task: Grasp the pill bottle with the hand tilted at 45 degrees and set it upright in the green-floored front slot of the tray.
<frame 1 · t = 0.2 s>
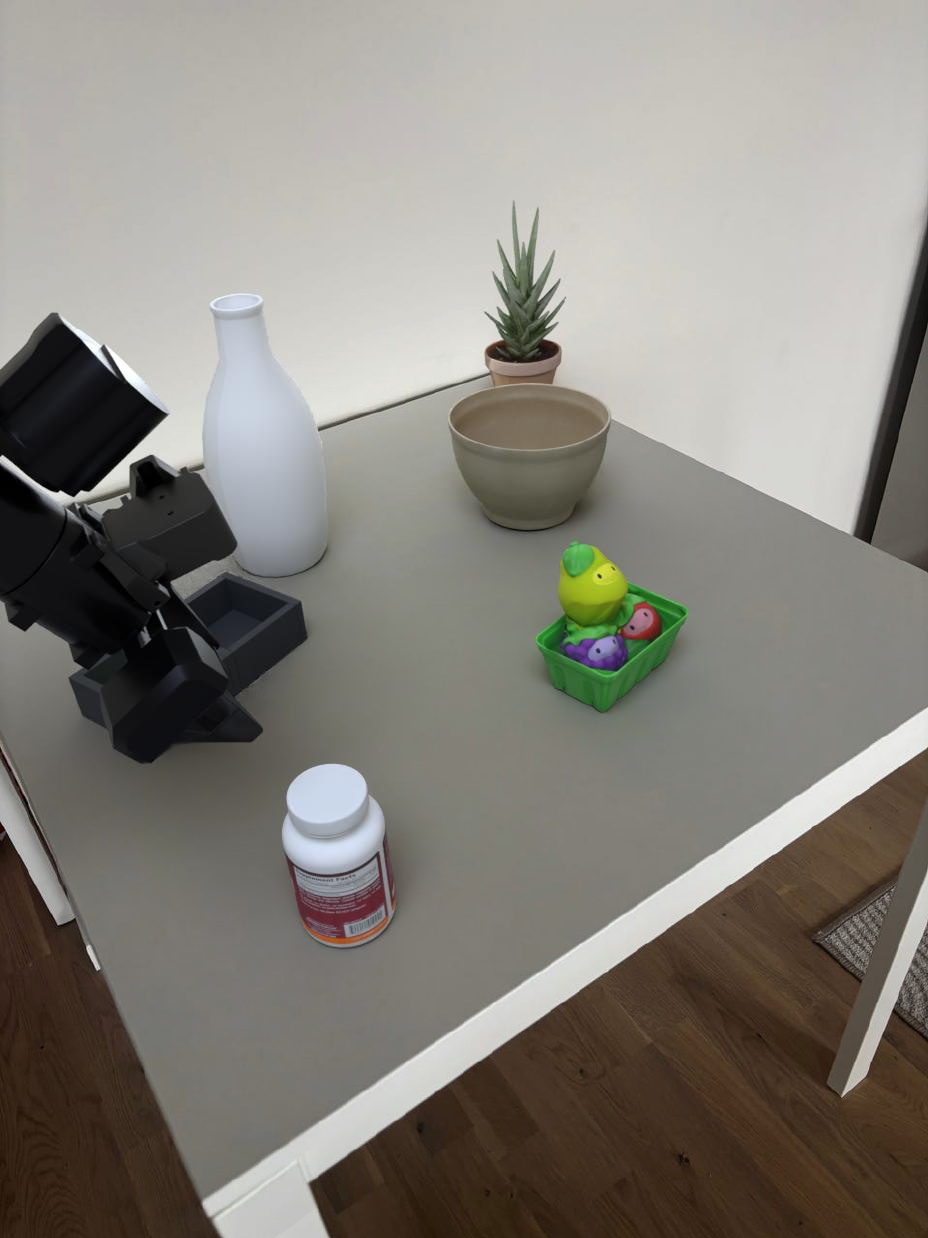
hand: (235, 690, 60), 13 cm above the table, tool tilted 35°, fingers open, 9 cm apart
pill bottle: (349, 912, 62), on the table
potted plant: (521, 406, 124), on the table
planter bowl: (529, 510, 103), on the table
bottle: (282, 555, 98), on the table
fruit basket: (604, 672, 81), on the table
tray: (199, 675, 82), on the table
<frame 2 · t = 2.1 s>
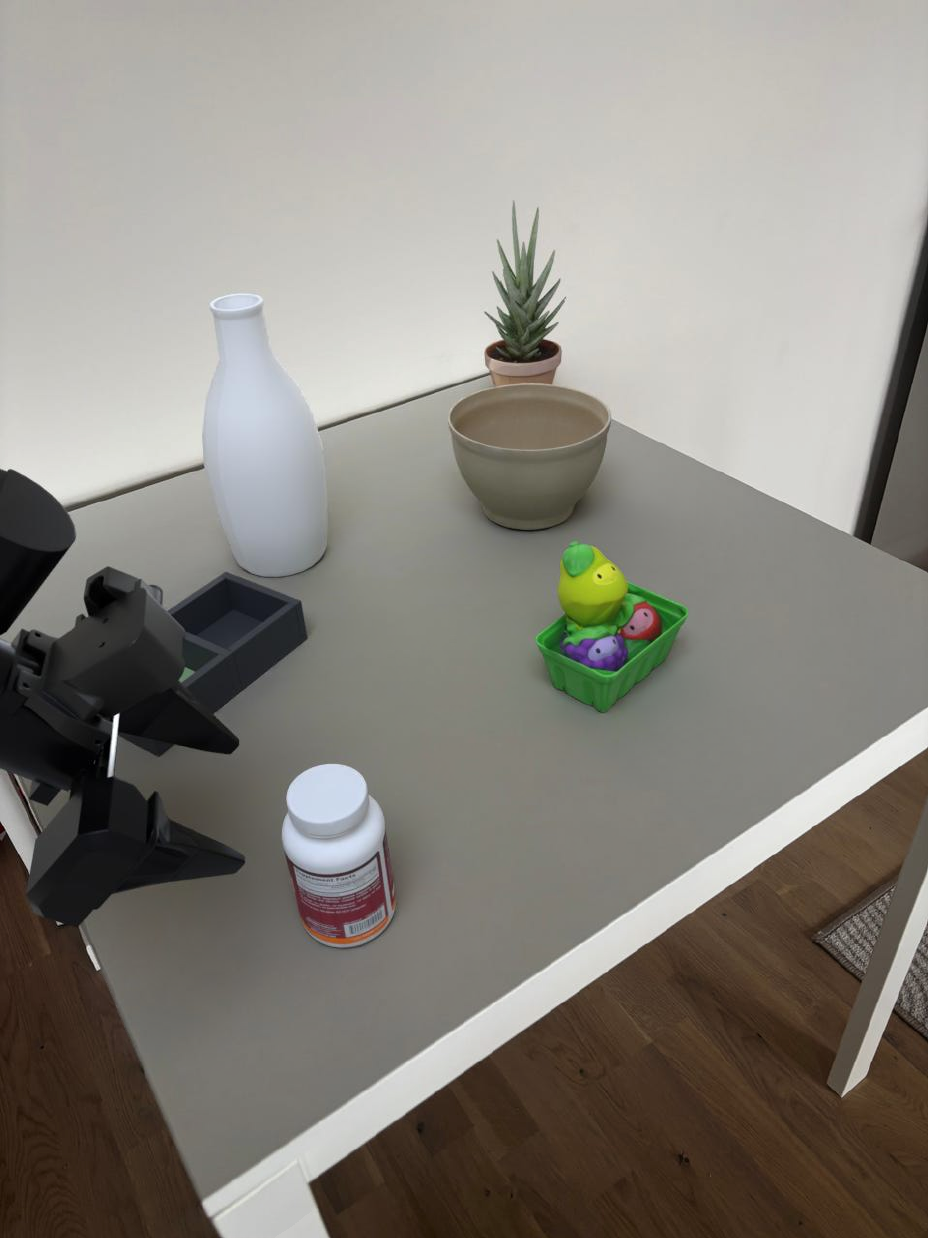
hand: (238, 802, 55), 11 cm above the table, tool tilted 45°, fingers open, 9 cm apart
nothing on the table moved.
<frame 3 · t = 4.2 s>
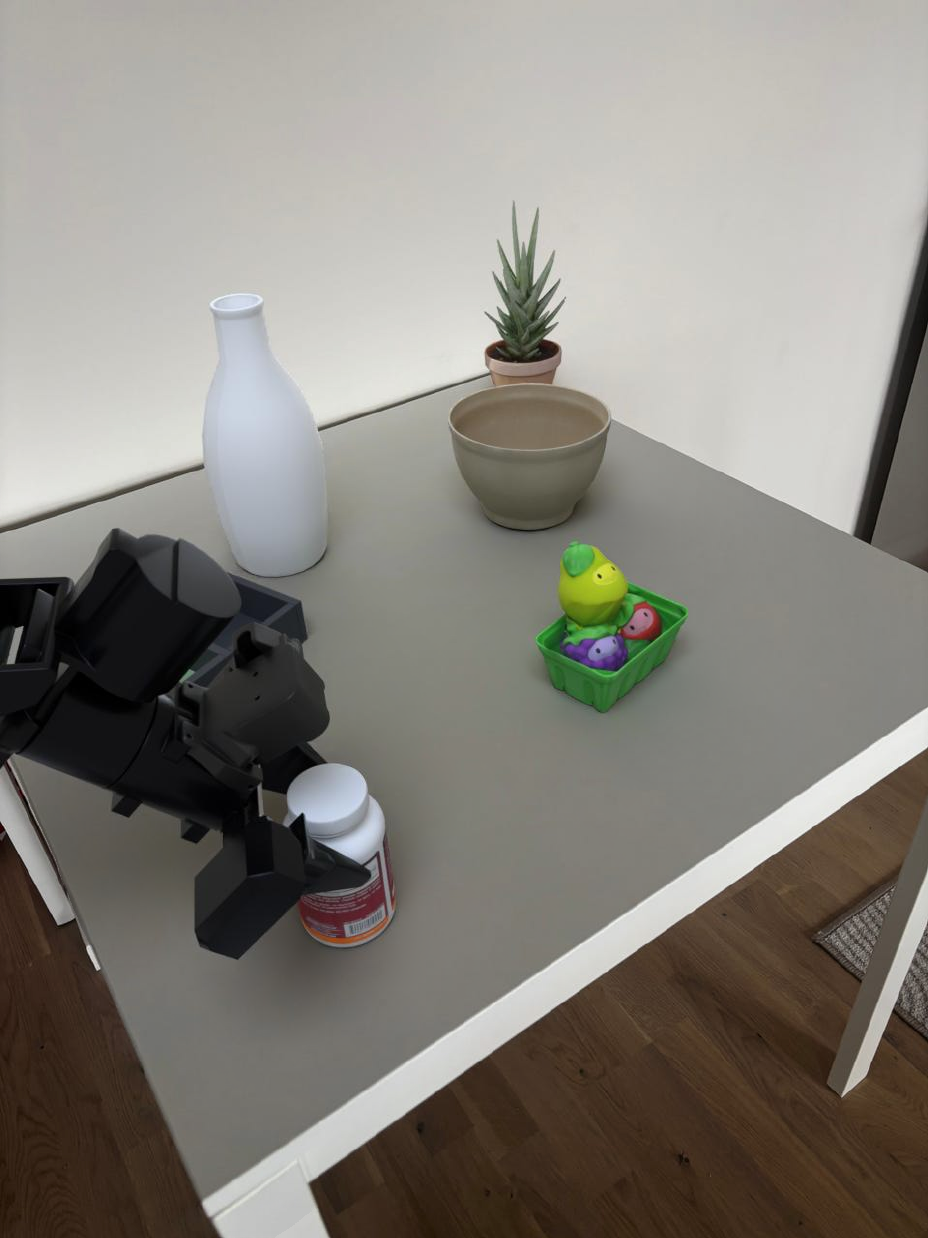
hand: (359, 838, 59), 7 cm above the table, tool tilted 45°, fingers closed on pill bottle, 6 cm apart
pill bottle: (349, 912, 62), on the table, touching gripper
everything else where it was.
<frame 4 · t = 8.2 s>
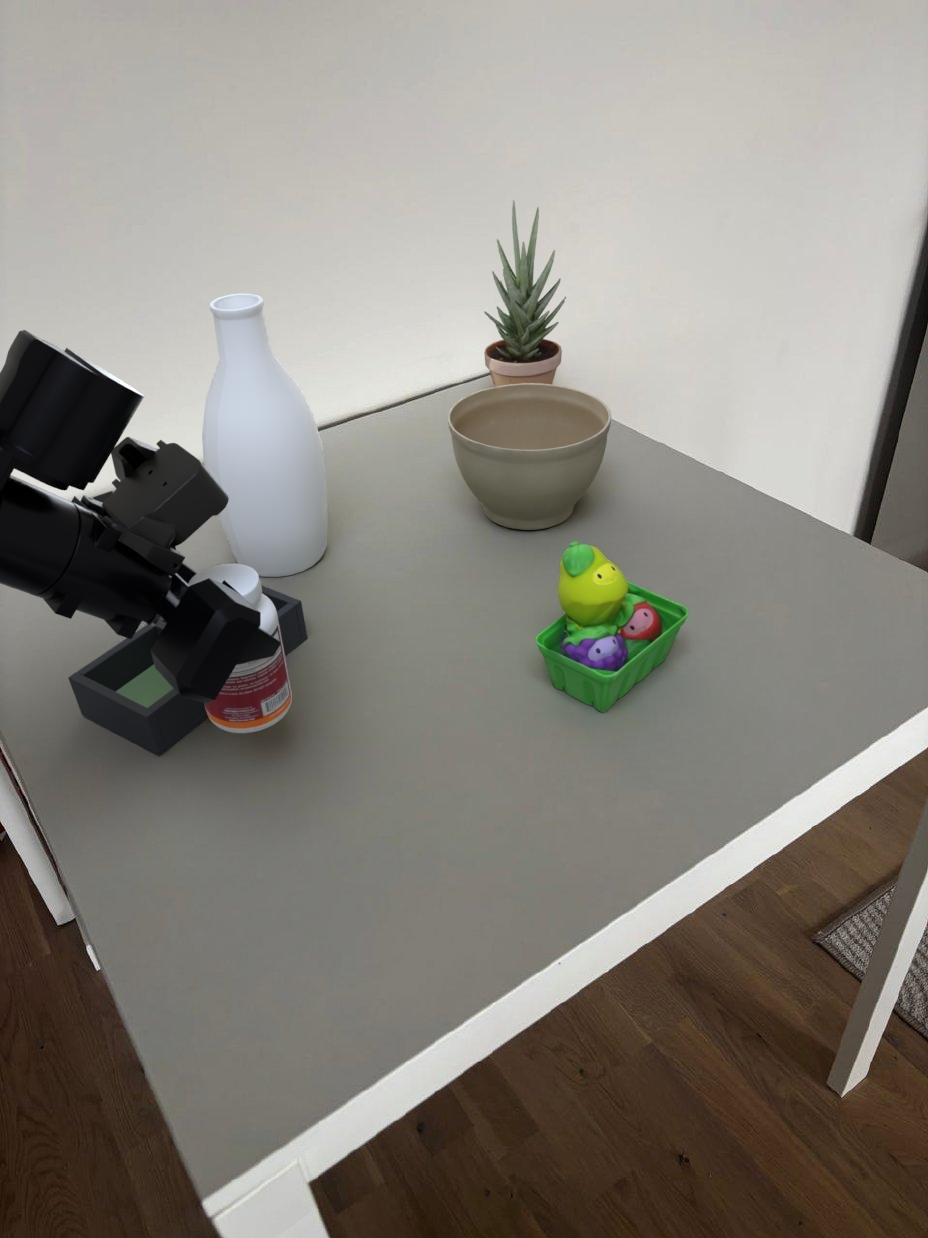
hand: (252, 627, 67), 12 cm above the table, tool tilted 45°, fingers closed on pill bottle, 6 cm apart
pill bottle: (251, 710, 70), point 5 cm above the table, touching gripper
everything else where it was.
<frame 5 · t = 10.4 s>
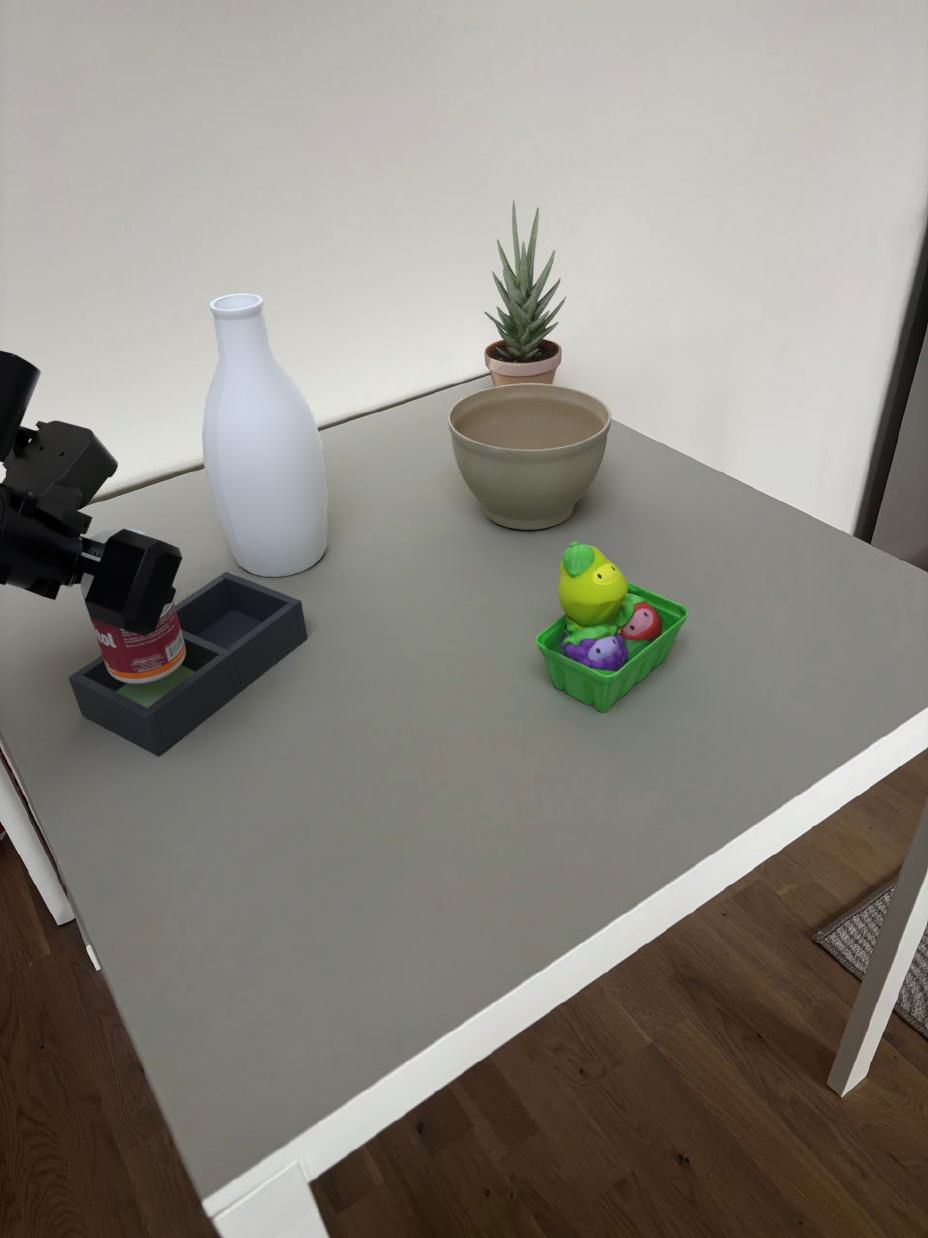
hand: (141, 584, 74), 11 cm above the table, tool tilted 45°, fingers closed on pill bottle, 6 cm apart
pill bottle: (148, 664, 77), point 4 cm above the table, touching gripper
everything else where it was.
when the fingers open (7 cm above the table, at t = 12.0 s): pill bottle stays where it is, resting on tray.
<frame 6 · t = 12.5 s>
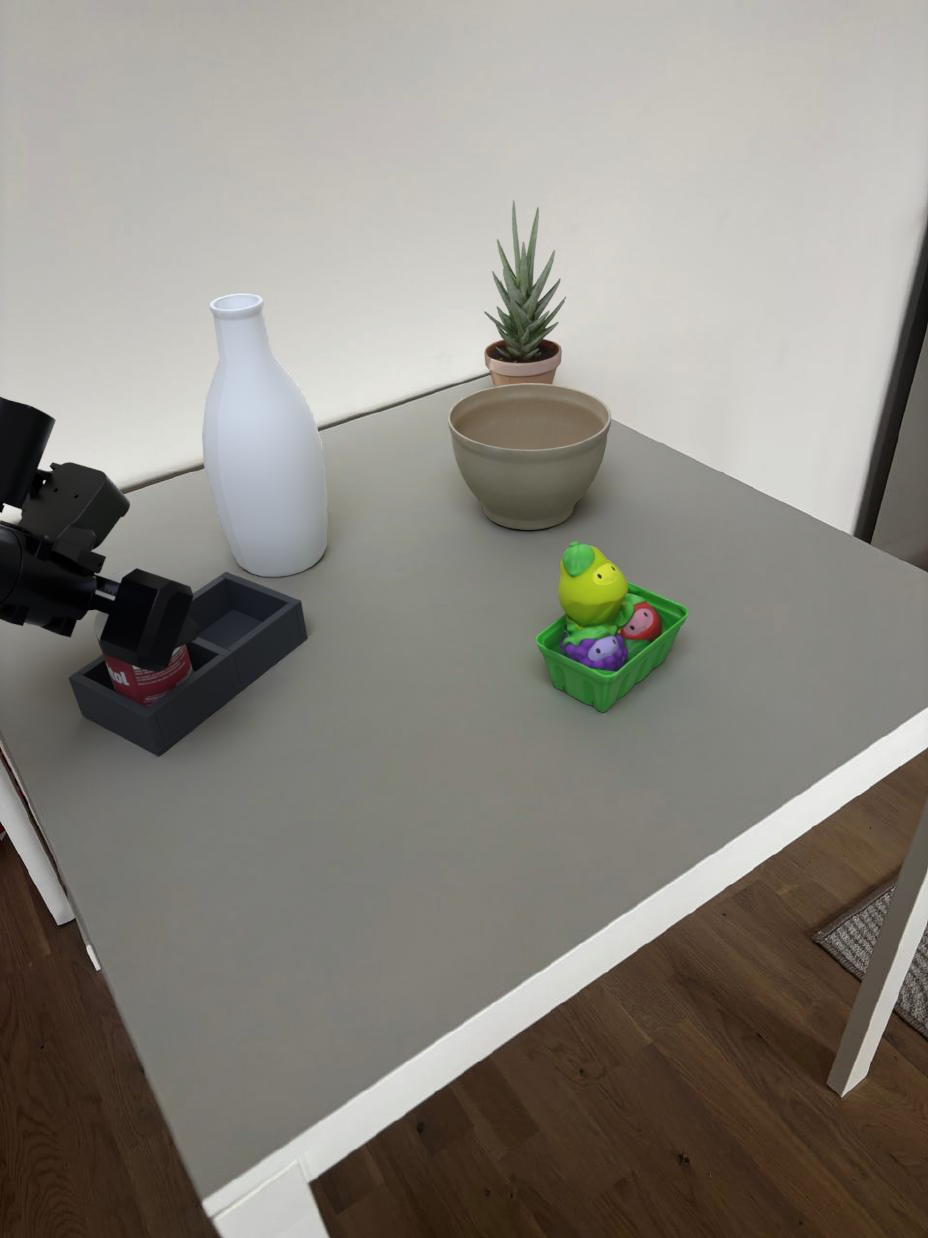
hand: (153, 616, 76), 8 cm above the table, tool tilted 45°, fingers open, 9 cm apart
pill bottle: (159, 698, 79), point 1 cm above the table, touching tray
everything else where it was.
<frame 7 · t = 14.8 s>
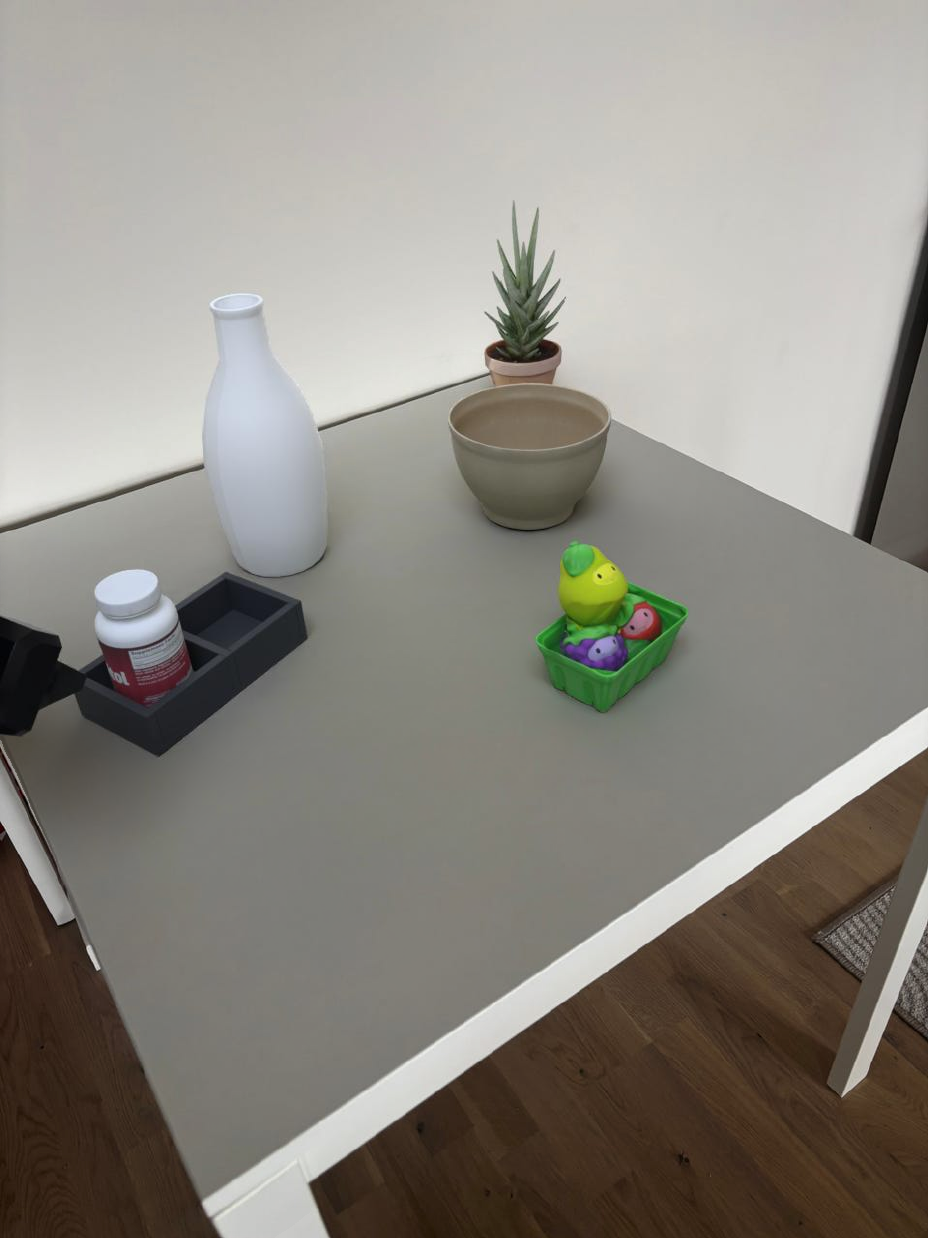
hand: (35, 662, 66), 11 cm above the table, tool tilted 45°, fingers open, 9 cm apart
nothing on the table moved.
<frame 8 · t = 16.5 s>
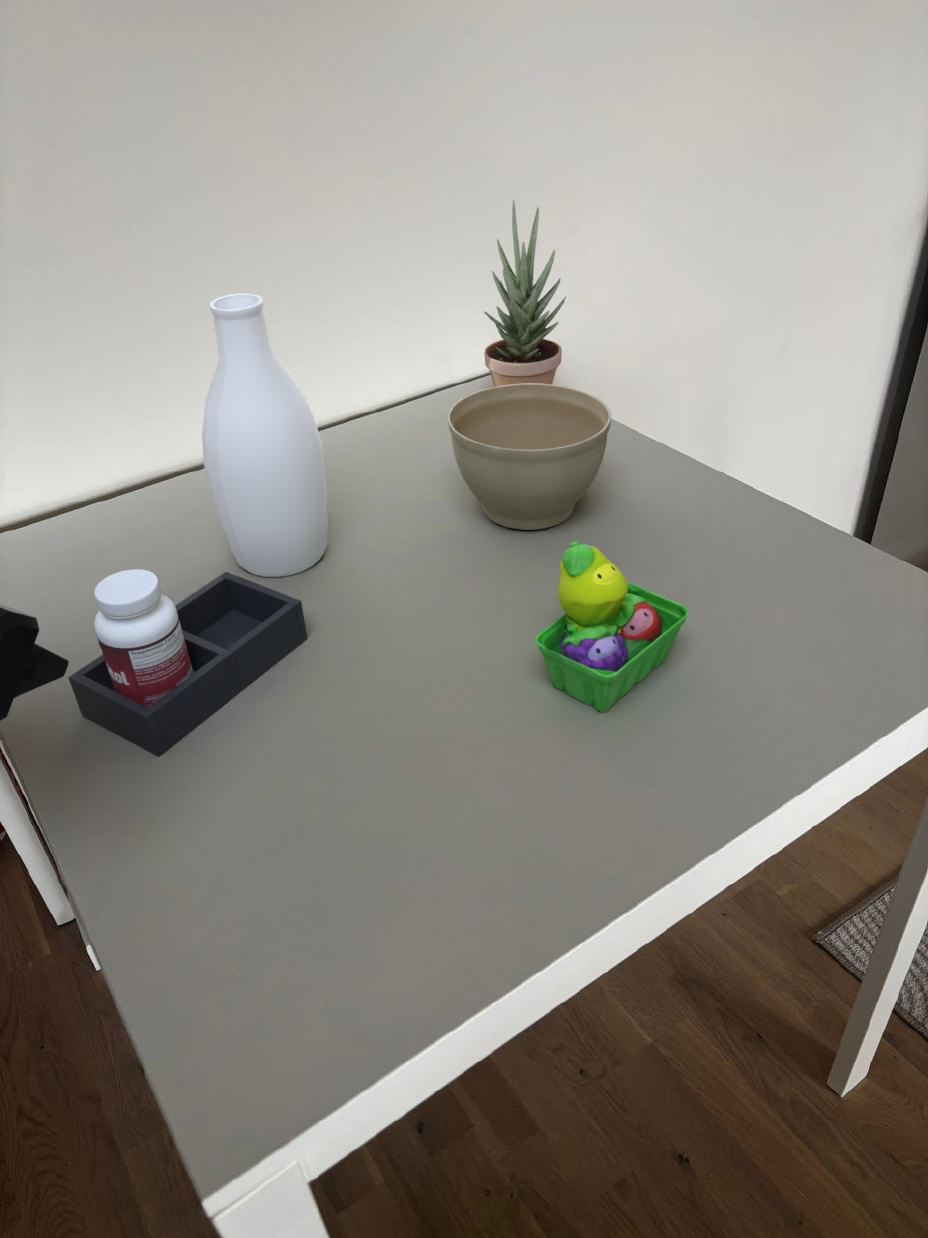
hand: (16, 647, 64), 14 cm above the table, tool tilted 45°, fingers open, 9 cm apart
nothing on the table moved.
at the end: pill bottle inside the target area in the tray (0.1 cm from its centre), point 0.6 cm above the tray's base; pill bottle tilted 0°; the gripper is holding nothing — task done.
